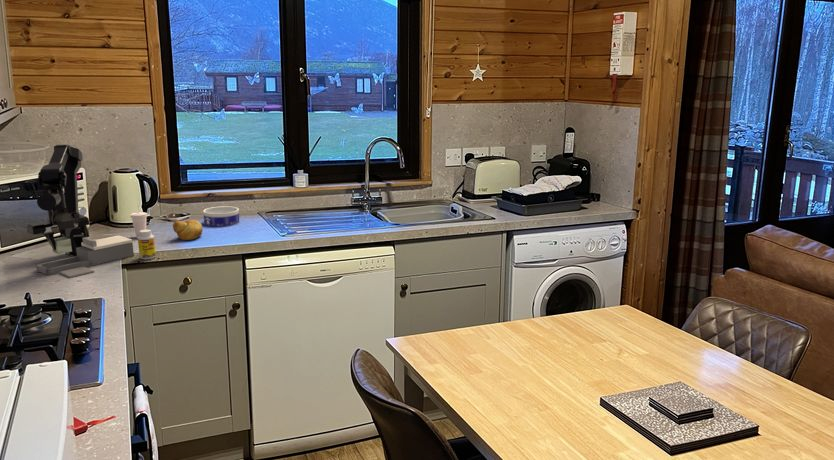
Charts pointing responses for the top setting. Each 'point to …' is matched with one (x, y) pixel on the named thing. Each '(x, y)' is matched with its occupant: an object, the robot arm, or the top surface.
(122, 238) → the cover
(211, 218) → the dog bowl
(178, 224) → the bread roll
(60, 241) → the block
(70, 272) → the pad
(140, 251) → the supplement bottle
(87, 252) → the grey long stepped bar
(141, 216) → the smoothie
